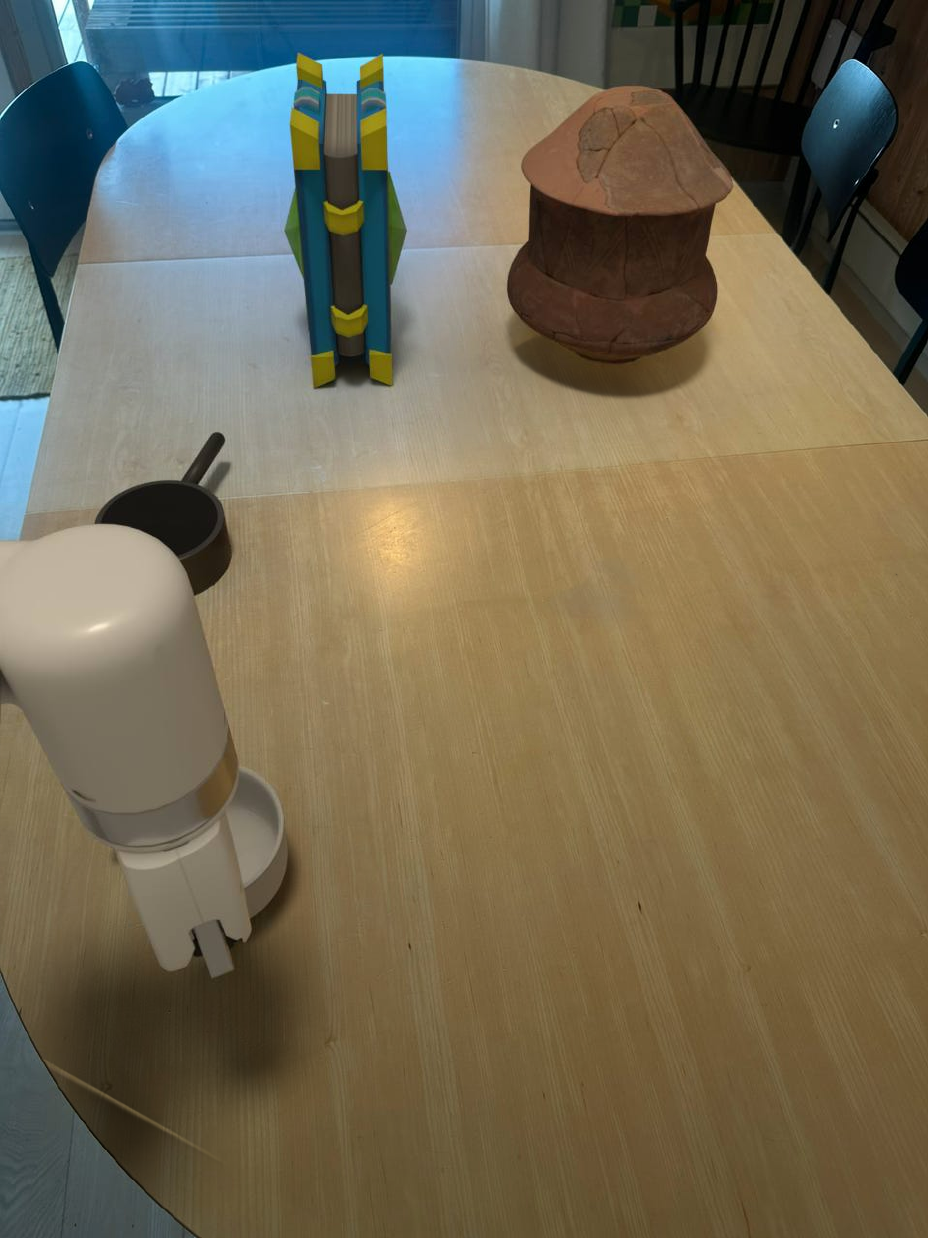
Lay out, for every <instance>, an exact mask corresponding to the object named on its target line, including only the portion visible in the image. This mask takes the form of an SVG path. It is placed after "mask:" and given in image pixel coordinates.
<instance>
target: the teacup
mask: <svg viewBox="0 0 928 1238" xmlns="http://www.w3.org/2000/svg"><path fill="white" fill-rule="evenodd" d="M226 814H227V818H228V822H229V825H230V829H231V833H232V837H233V841H234V845H235V849H236V854H237V858H238V862H239V867H240V872H241V877H242V881H243V886H244V891H245V896H246V901H247V907H248V912H249V917H250V919H252V918H253V917H255V916H256V915H258V914H259V913H260V912H261V911H262V910H264V909H265V907H266V906H268V904H269V903H270V902H271V901H272V900H273V898H274V897H275V896H276V894H277V892H278V890H279V889H280V887H281V885H282V883H283V880H284V877H285V874H286V872H287V871H286V870H287V866H288V859H289V858H288V855H289V848H288V837H287V831H286V818H285V817H286V816H285V812H284V808H283V805H282V803H281V799H280V797H279V796H278V793H277V791H276V790H275V788H274V787H273V786H272V785H271V783H269V782H268V780H267V779H265V778H264V776H263V775H261V774H259V773H258V772H256V771H255V770H253V769H251V768H249V767H246V766H243V765H241V764H239V781H238V786H237V790H236V792H235V795H234V797H233V800H232V801H231V803H230V805H229V806H228V808H227V810H226Z"/></svg>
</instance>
